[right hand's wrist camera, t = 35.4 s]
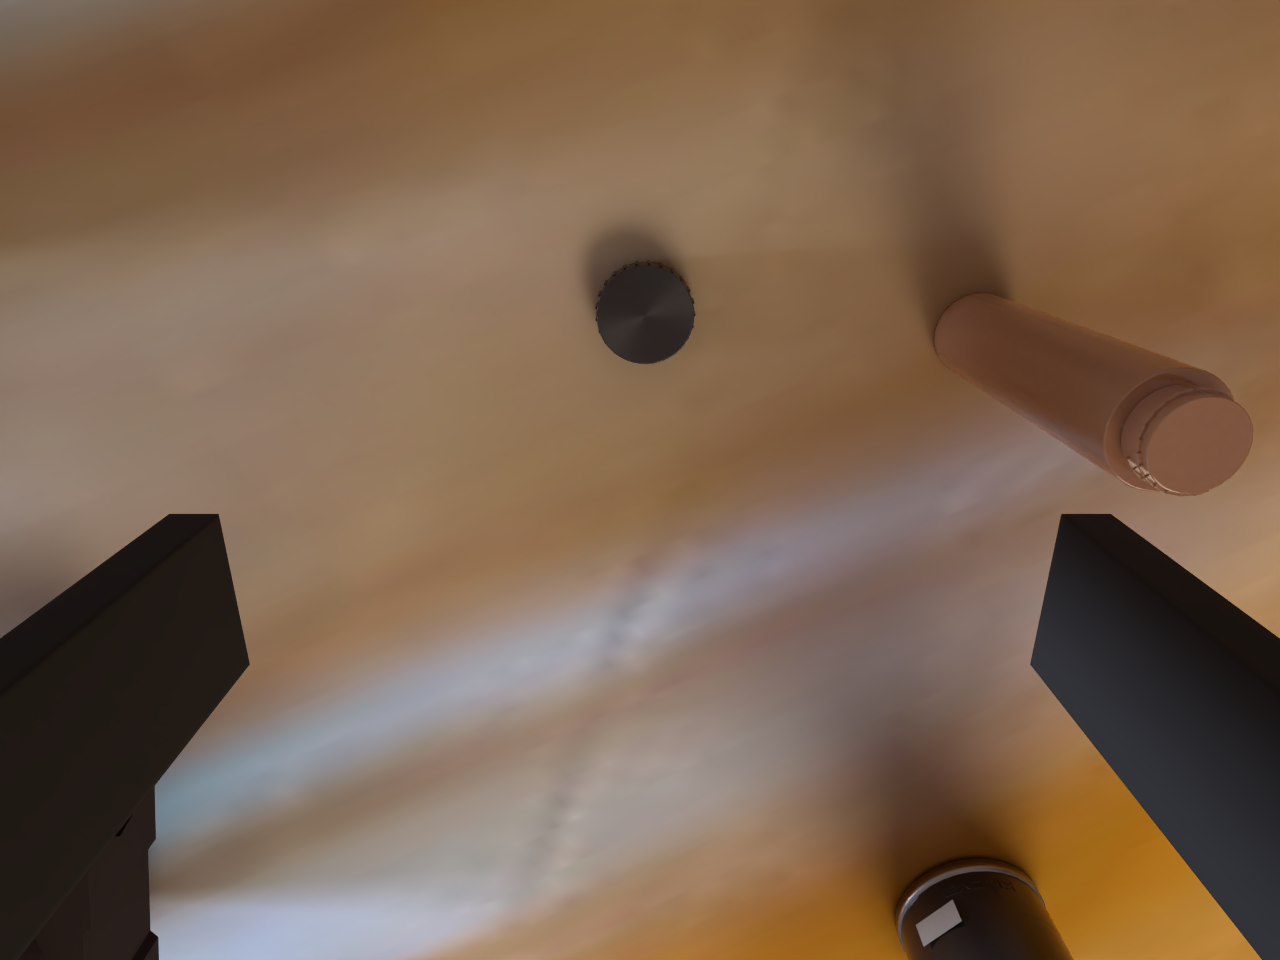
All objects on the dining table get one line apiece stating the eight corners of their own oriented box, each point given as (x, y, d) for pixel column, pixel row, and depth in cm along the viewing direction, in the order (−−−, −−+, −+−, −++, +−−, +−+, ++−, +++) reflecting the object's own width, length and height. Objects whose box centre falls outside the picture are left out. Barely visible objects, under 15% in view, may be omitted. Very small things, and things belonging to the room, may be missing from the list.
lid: (582, 336, 39) (580, 343, 38) (617, 244, 38) (616, 247, 36) (670, 372, 40) (671, 380, 38) (708, 282, 38) (711, 287, 37)
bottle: (926, 308, 39) (1122, 404, 23) (1009, 281, 38) (1268, 361, 23) (942, 385, 40) (1137, 525, 24) (1022, 359, 40) (1274, 486, 24)
